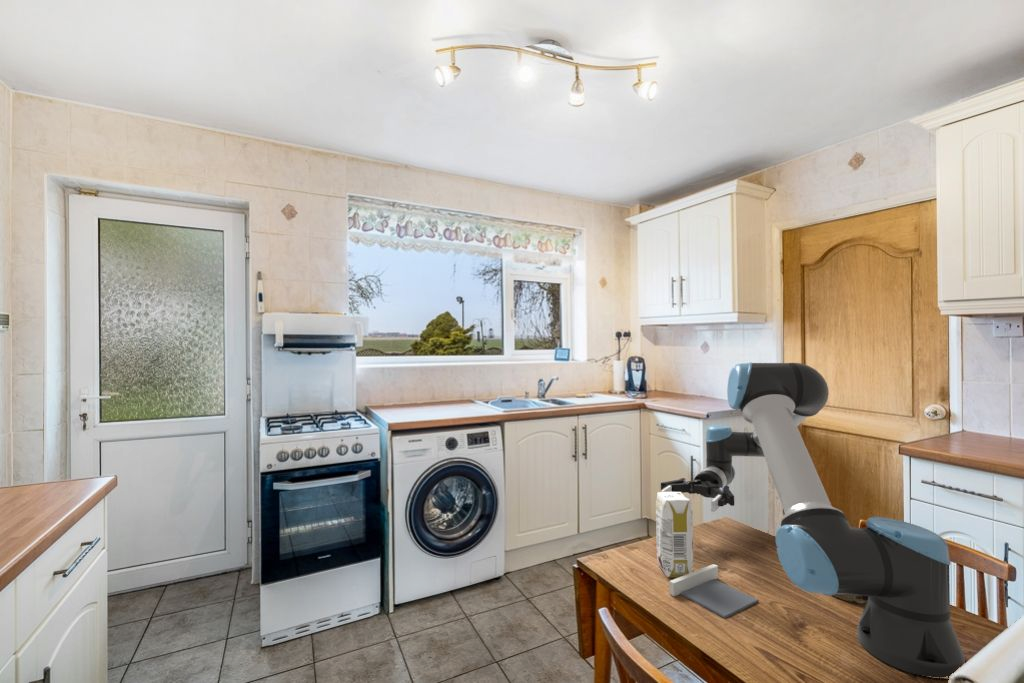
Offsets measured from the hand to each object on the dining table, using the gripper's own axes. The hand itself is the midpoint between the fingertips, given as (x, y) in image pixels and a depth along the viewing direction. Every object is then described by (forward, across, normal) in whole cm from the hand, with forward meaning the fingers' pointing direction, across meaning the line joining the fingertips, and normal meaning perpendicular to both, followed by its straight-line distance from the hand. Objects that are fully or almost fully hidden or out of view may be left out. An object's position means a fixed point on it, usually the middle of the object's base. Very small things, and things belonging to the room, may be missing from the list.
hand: (686, 501), depth 127 cm
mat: (+17, -13, -15) cm, 26 cm away
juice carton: (+10, 0, -15) cm, 18 cm away
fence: (+15, -7, -15) cm, 22 cm away
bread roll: (-4, -35, -15) cm, 38 cm away
